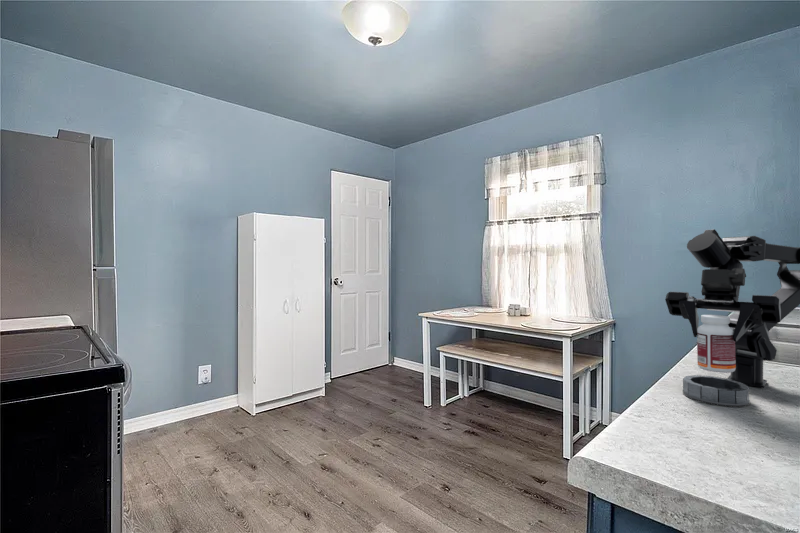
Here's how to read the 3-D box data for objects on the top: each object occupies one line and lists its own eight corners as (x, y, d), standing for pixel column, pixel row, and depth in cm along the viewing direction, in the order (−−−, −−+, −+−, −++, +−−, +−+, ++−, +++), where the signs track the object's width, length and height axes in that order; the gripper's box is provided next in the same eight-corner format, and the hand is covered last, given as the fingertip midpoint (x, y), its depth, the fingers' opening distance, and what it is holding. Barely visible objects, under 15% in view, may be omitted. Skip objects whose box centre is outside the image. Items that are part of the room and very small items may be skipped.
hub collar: (689, 385, 90) (689, 372, 90) (753, 397, 82) (753, 382, 82) (676, 397, 82) (676, 382, 82) (745, 411, 75) (745, 395, 75)
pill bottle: (740, 370, 81) (740, 316, 81) (729, 375, 78) (728, 319, 78) (704, 363, 86) (703, 313, 86) (692, 368, 83) (691, 315, 83)
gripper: (667, 256, 91) (652, 309, 84) (779, 254, 78) (774, 317, 70) (676, 288, 97) (663, 340, 89) (783, 292, 83) (778, 354, 76)
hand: (714, 338), depth 81 cm, fingers closed on pill bottle, 6 cm apart
